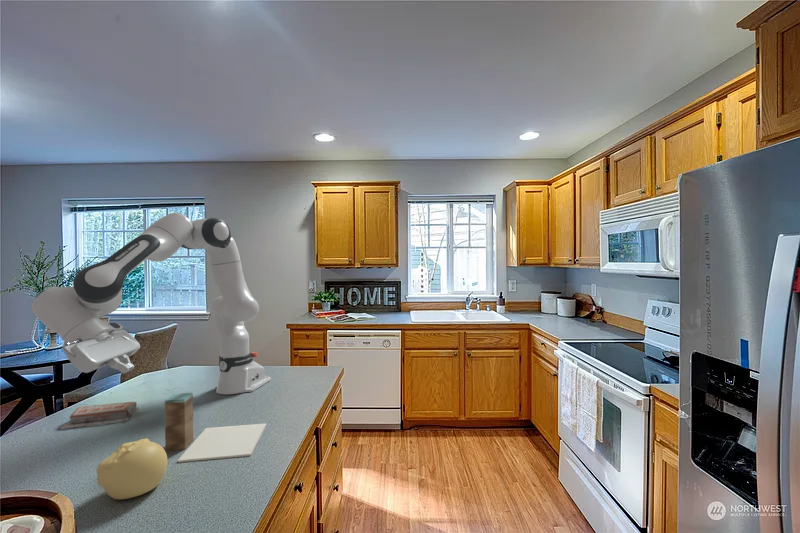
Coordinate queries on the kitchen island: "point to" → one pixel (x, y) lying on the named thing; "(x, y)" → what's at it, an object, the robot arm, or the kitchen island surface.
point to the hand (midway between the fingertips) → (129, 370)
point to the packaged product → (101, 414)
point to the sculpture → (132, 469)
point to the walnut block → (178, 421)
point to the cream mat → (224, 442)
